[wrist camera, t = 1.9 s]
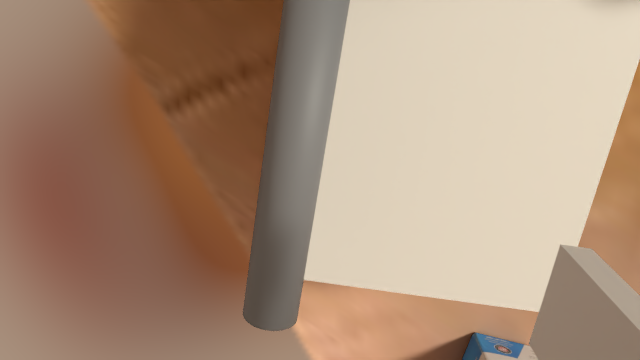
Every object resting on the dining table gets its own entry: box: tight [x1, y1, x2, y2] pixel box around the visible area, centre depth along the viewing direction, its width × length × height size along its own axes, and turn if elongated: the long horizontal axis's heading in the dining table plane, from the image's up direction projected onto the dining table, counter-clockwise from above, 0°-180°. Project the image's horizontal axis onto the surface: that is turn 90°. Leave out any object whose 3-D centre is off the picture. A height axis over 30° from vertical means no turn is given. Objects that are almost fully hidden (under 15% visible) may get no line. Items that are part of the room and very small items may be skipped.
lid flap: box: [243, 0, 640, 331], centre depth 25 cm, size 17×16×8 cm
